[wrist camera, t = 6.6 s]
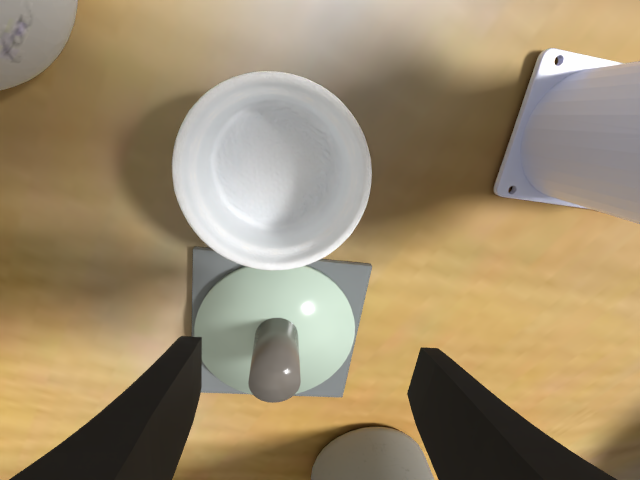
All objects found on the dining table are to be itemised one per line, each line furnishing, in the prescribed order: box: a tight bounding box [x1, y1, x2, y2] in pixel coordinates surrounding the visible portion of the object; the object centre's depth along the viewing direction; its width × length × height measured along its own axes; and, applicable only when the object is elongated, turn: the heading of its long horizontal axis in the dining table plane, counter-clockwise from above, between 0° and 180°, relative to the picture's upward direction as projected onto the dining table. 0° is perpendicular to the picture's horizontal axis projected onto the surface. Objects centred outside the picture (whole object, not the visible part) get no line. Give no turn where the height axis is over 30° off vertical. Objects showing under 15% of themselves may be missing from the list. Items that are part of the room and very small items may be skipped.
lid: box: [194, 265, 355, 402], centre depth 20 cm, size 10×10×5 cm
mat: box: [192, 247, 372, 397], centre depth 22 cm, size 11×11×1 cm
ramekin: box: [172, 71, 372, 271], centre depth 16 cm, size 9×9×4 cm
